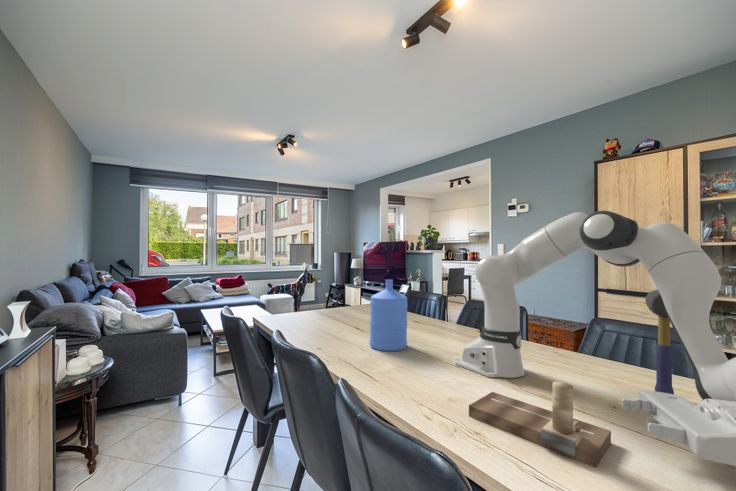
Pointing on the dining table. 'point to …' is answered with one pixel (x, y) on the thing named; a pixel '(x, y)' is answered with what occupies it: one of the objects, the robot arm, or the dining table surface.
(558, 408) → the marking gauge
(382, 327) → the water jug
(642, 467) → the dining table surface
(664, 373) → the rubber mallet
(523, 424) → the walnut board
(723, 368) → the robot arm
